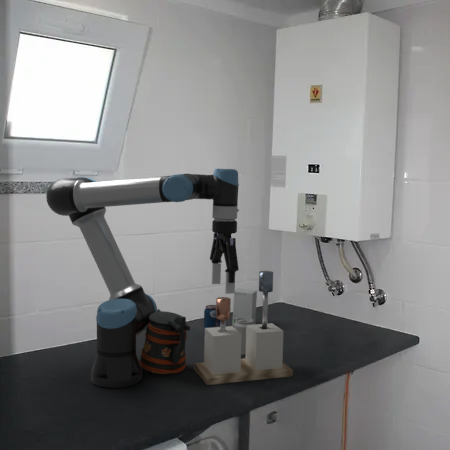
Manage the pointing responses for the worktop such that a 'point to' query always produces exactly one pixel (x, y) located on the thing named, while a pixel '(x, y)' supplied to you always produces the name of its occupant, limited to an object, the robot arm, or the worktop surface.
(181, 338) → the beer stein
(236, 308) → the skincare box
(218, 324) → the soda can
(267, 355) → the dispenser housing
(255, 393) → the worktop surface
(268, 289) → the plunger
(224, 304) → the plunger
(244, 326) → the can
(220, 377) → the base board
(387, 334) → the worktop surface
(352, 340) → the worktop surface
